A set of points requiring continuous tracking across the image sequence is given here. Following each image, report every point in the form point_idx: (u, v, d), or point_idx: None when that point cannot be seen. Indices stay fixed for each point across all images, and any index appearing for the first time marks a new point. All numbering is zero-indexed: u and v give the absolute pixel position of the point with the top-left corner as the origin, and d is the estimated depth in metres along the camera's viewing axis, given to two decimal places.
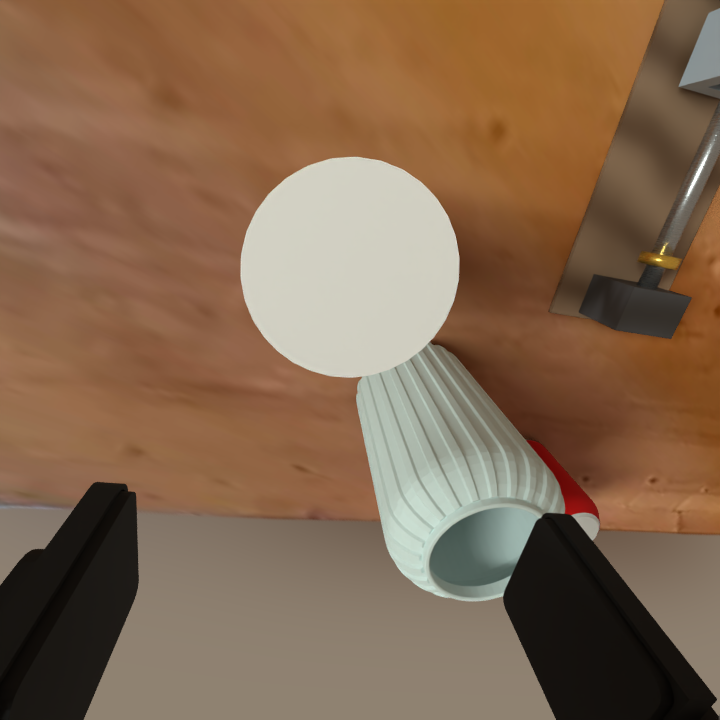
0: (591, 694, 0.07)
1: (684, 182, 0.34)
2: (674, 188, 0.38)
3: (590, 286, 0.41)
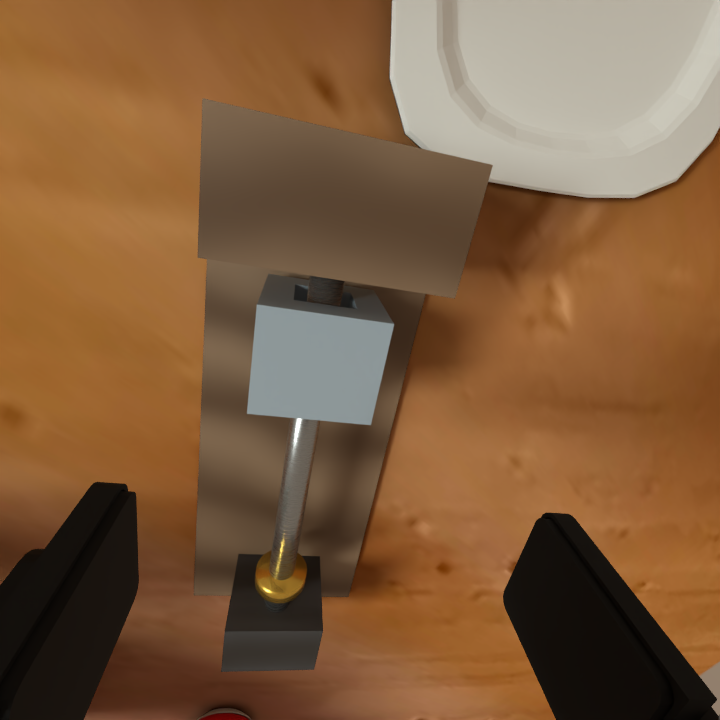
0: (591, 694, 0.07)
1: None
2: (318, 460, 0.27)
3: (236, 568, 0.30)
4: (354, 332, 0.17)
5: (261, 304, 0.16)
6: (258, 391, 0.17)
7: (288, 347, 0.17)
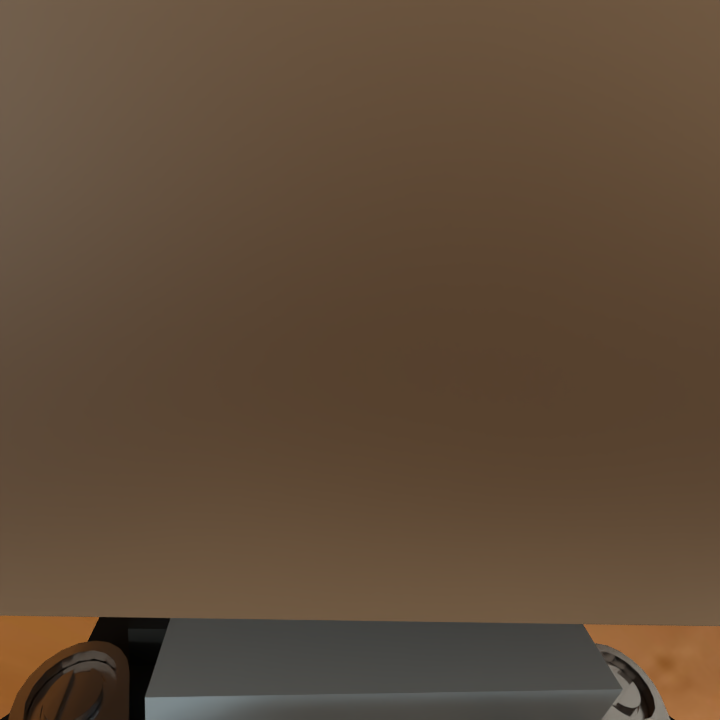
0: None
1: None
2: None
3: None
4: None
5: (166, 684, 0.04)
6: None
7: None
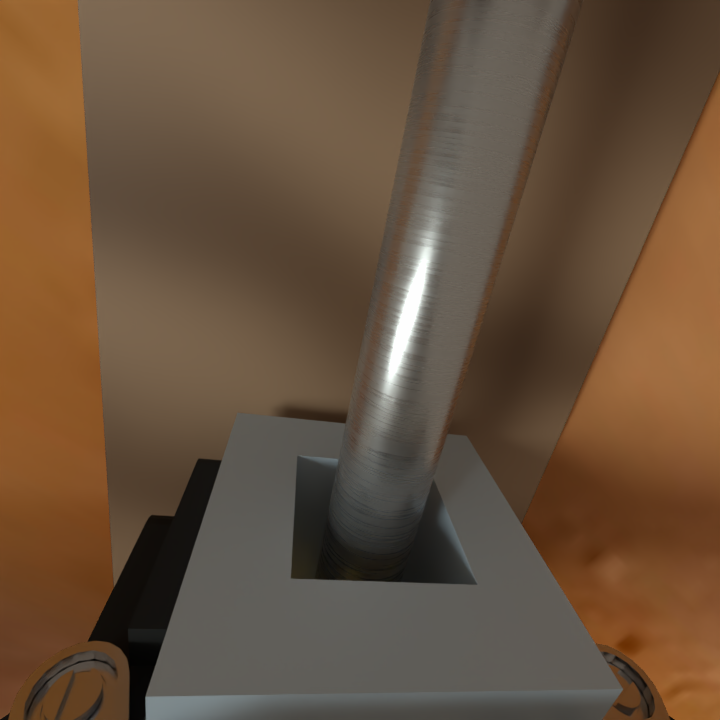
0: None
1: (333, 485, 0.07)
2: None
3: None
4: None
5: (166, 684, 0.04)
6: None
7: None
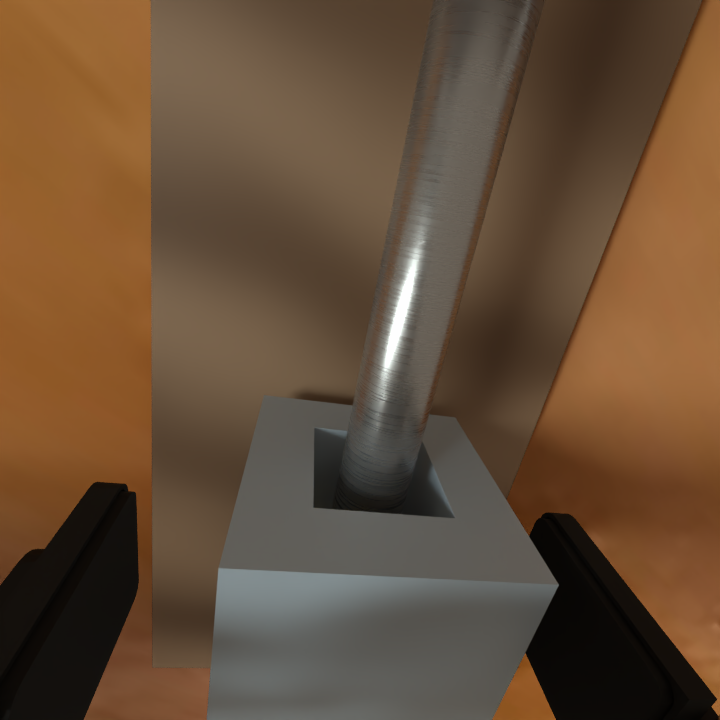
0: (592, 694, 0.07)
1: (344, 445, 0.09)
2: None
3: None
4: (461, 606, 0.07)
5: (231, 562, 0.06)
6: None
7: (300, 644, 0.07)
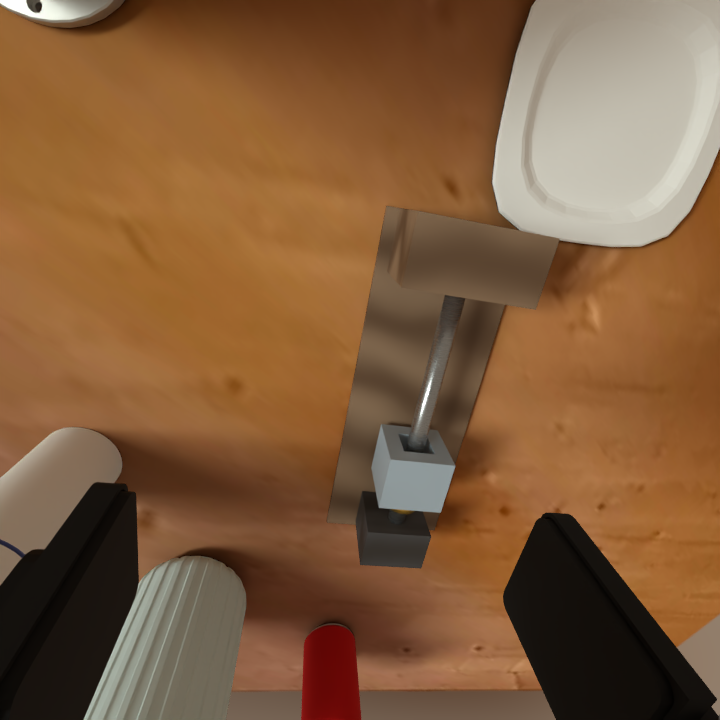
0: (592, 694, 0.07)
1: (408, 438, 0.36)
2: None
3: (360, 502, 0.42)
4: (435, 470, 0.34)
5: (392, 458, 0.33)
6: (386, 497, 0.34)
7: (403, 477, 0.34)
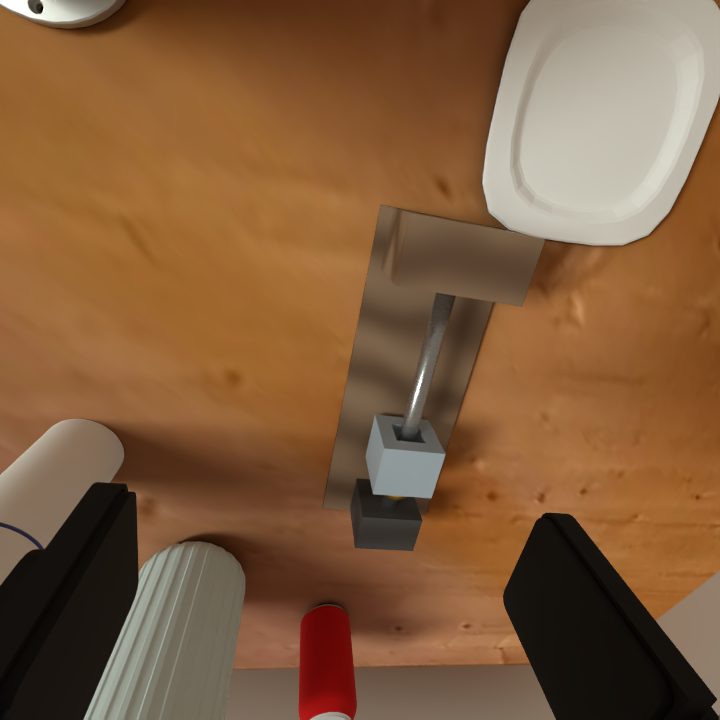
0: (592, 694, 0.07)
1: None
2: None
3: (354, 488, 0.44)
4: (426, 458, 0.36)
5: (385, 447, 0.35)
6: (379, 484, 0.36)
7: (396, 465, 0.36)
